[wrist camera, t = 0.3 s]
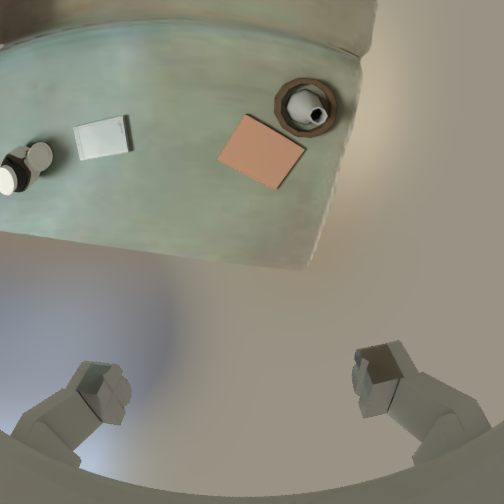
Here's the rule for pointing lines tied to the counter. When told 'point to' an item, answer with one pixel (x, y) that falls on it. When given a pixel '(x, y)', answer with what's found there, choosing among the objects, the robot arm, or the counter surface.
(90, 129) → the hard drive
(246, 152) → the terracotta pad
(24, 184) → the spread jar
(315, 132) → the ring holder
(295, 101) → the flask
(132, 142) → the counter surface
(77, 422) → the robot arm
